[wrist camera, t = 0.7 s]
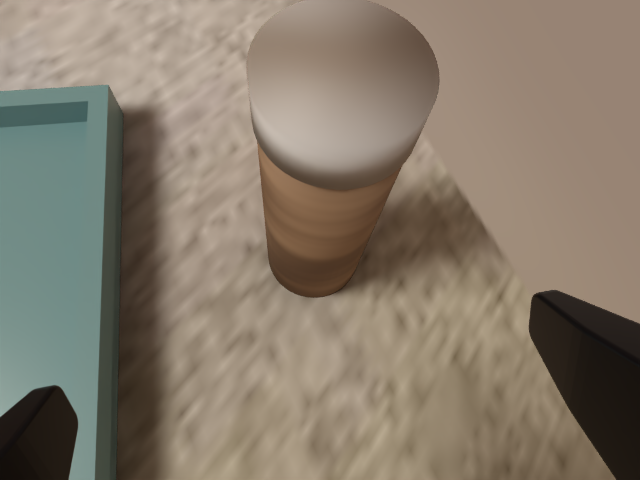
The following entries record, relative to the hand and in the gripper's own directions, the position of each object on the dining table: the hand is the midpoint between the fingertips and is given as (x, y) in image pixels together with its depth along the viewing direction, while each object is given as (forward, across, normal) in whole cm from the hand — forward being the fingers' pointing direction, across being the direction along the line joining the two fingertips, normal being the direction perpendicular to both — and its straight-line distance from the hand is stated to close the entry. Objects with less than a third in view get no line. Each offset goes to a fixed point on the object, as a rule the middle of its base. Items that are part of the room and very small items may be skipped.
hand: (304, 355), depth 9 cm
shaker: (+15, -1, +6) cm, 16 cm away
